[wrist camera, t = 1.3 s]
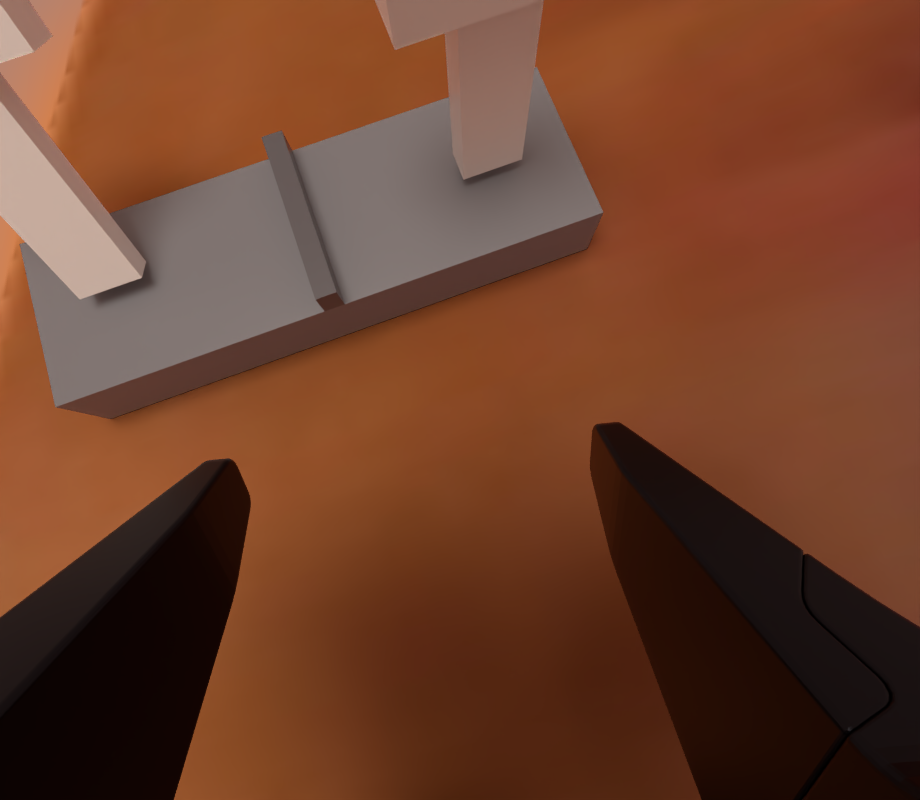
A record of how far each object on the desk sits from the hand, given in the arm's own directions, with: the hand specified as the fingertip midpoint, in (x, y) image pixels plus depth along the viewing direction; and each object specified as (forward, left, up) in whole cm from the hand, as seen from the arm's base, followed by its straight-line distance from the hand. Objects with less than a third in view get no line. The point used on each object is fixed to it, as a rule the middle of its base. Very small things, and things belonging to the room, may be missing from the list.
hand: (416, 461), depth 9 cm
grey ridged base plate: (+11, +2, -13) cm, 17 cm away
